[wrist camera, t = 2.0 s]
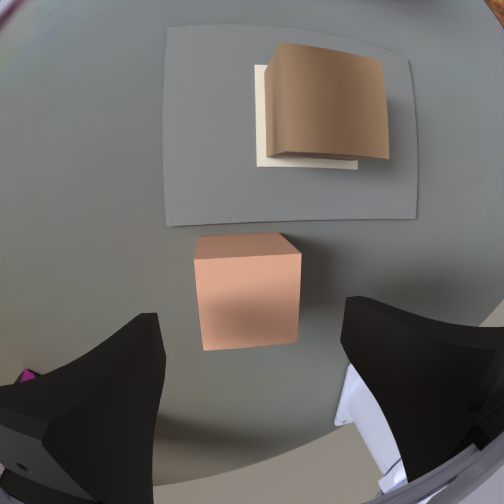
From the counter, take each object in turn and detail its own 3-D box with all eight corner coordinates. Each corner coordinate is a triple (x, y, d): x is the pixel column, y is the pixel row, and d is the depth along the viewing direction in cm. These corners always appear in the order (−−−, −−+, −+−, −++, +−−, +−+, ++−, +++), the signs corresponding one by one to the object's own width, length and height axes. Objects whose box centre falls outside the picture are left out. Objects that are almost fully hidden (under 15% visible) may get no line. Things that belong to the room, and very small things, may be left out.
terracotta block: (278, 232, 16) (301, 253, 12) (277, 302, 17) (296, 342, 13) (199, 235, 15) (193, 259, 11) (205, 307, 17) (203, 350, 12)
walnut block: (346, 82, 13) (381, 61, 10) (350, 160, 15) (389, 159, 11) (264, 72, 13) (280, 42, 9) (266, 157, 14) (284, 151, 10)
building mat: (404, 58, 14) (408, 56, 13) (412, 218, 17) (416, 219, 16) (168, 30, 12) (167, 27, 11) (167, 225, 15) (166, 226, 14)
